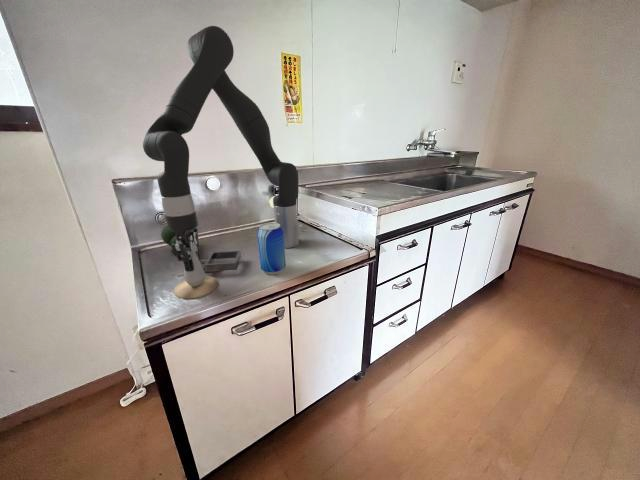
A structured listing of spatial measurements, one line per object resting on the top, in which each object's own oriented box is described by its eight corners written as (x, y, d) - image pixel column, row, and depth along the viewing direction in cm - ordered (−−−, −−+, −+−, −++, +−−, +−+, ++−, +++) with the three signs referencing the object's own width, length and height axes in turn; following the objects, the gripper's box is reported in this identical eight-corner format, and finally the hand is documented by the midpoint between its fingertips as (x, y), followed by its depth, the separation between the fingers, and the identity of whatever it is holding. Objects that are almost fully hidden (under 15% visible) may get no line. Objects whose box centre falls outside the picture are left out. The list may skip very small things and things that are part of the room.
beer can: (274, 278, 85) (270, 232, 79) (256, 271, 89) (250, 227, 83) (290, 267, 91) (288, 224, 85) (272, 262, 95) (268, 220, 89)
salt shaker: (210, 278, 83) (202, 240, 77) (201, 288, 77) (191, 249, 72) (192, 277, 83) (183, 239, 78) (182, 287, 78) (171, 248, 72)
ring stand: (241, 260, 97) (234, 202, 88) (237, 273, 88) (228, 210, 79) (195, 263, 95) (182, 204, 87) (185, 277, 86) (170, 212, 77)
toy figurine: (207, 262, 99) (183, 239, 115) (200, 215, 91) (175, 197, 107) (181, 270, 93) (159, 245, 109) (171, 221, 85) (148, 201, 101)
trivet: (221, 276, 86) (221, 274, 86) (212, 297, 75) (211, 295, 75) (182, 278, 85) (182, 277, 85) (167, 300, 74) (167, 298, 74)
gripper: (185, 218, 65) (198, 278, 71) (202, 203, 78) (211, 255, 84) (153, 219, 64) (169, 280, 70) (175, 205, 77) (187, 257, 83)
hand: (192, 266), depth 77 cm, fingers open, 4 cm apart
